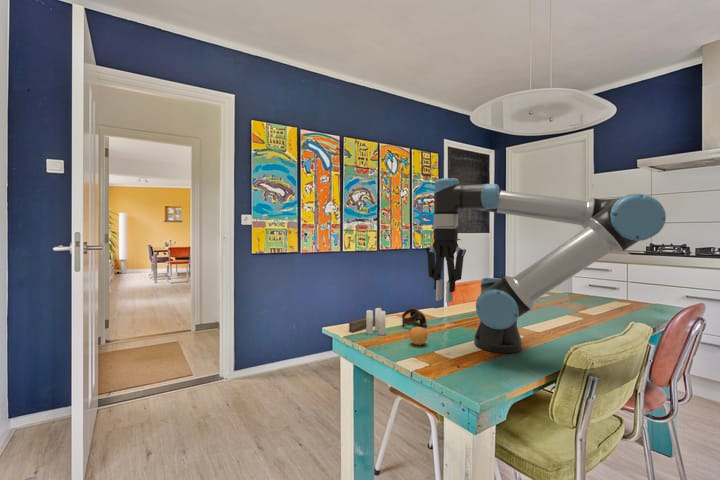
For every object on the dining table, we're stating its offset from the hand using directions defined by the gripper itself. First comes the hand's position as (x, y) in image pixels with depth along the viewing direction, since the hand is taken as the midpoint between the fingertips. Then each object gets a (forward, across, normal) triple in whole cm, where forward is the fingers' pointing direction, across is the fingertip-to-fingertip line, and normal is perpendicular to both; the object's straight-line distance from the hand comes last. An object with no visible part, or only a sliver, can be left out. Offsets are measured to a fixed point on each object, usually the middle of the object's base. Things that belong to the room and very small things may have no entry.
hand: (444, 300), depth 116 cm
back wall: (+17, +36, 0) cm, 39 cm away
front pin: (+17, +26, 0) cm, 30 cm away
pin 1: (+17, +30, +2) cm, 34 cm away
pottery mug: (+17, +24, -18) cm, 34 cm away
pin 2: (+17, +30, -2) cm, 34 cm away
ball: (+14, +10, 0) cm, 17 cm away
